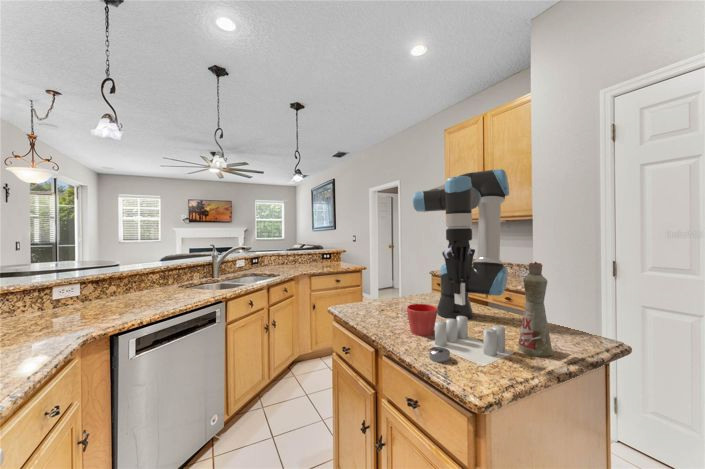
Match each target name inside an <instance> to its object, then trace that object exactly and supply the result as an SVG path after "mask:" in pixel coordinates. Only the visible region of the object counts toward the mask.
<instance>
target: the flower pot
mask: <svg viewBox="0 0 705 469" xmlns="http://www.w3.org/2000/svg"><path fill="white" fill-rule="evenodd" d="M406 312H407V320H408V324H409V329H410V333H411V334H412V335H415V336H419V337H429V336H432V335H433V334H434V332H435V322H437V315H438V314H437V307H436V306H434V305H432V304H427V303H414V304H413V303H412V304H409V305H407V306H406Z"/></svg>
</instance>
